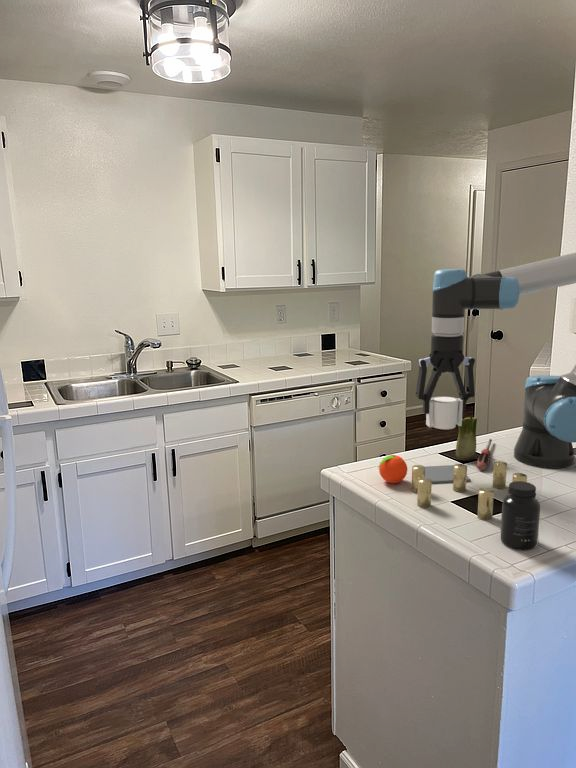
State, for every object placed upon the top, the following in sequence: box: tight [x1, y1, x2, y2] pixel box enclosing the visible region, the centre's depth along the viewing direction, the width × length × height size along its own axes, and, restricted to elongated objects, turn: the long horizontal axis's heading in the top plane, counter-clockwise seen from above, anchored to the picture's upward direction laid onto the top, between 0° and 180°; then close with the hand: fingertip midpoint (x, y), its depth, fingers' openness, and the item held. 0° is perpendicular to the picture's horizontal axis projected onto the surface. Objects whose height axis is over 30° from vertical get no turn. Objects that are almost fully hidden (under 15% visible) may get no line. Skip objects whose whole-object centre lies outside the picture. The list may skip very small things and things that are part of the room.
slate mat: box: [424, 464, 471, 485], centre depth 148 cm, size 11×10×1 cm
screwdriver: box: [476, 438, 493, 471], centre depth 160 cm, size 25×3×3 cm, turn 155°
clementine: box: [377, 454, 408, 484], centre depth 143 cm, size 8×7×7 cm
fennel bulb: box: [455, 417, 478, 462], centre depth 157 cm, size 6×5×12 cm
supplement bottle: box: [500, 481, 541, 551], centre depth 112 cm, size 7×7×12 cm
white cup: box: [430, 395, 459, 430], centre depth 144 cm, size 7×7×7 cm
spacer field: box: [411, 460, 528, 521], centre depth 131 cm, size 25×18×6 cm
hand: (443, 425), depth 145 cm, fingers closed on white cup, 7 cm apart
